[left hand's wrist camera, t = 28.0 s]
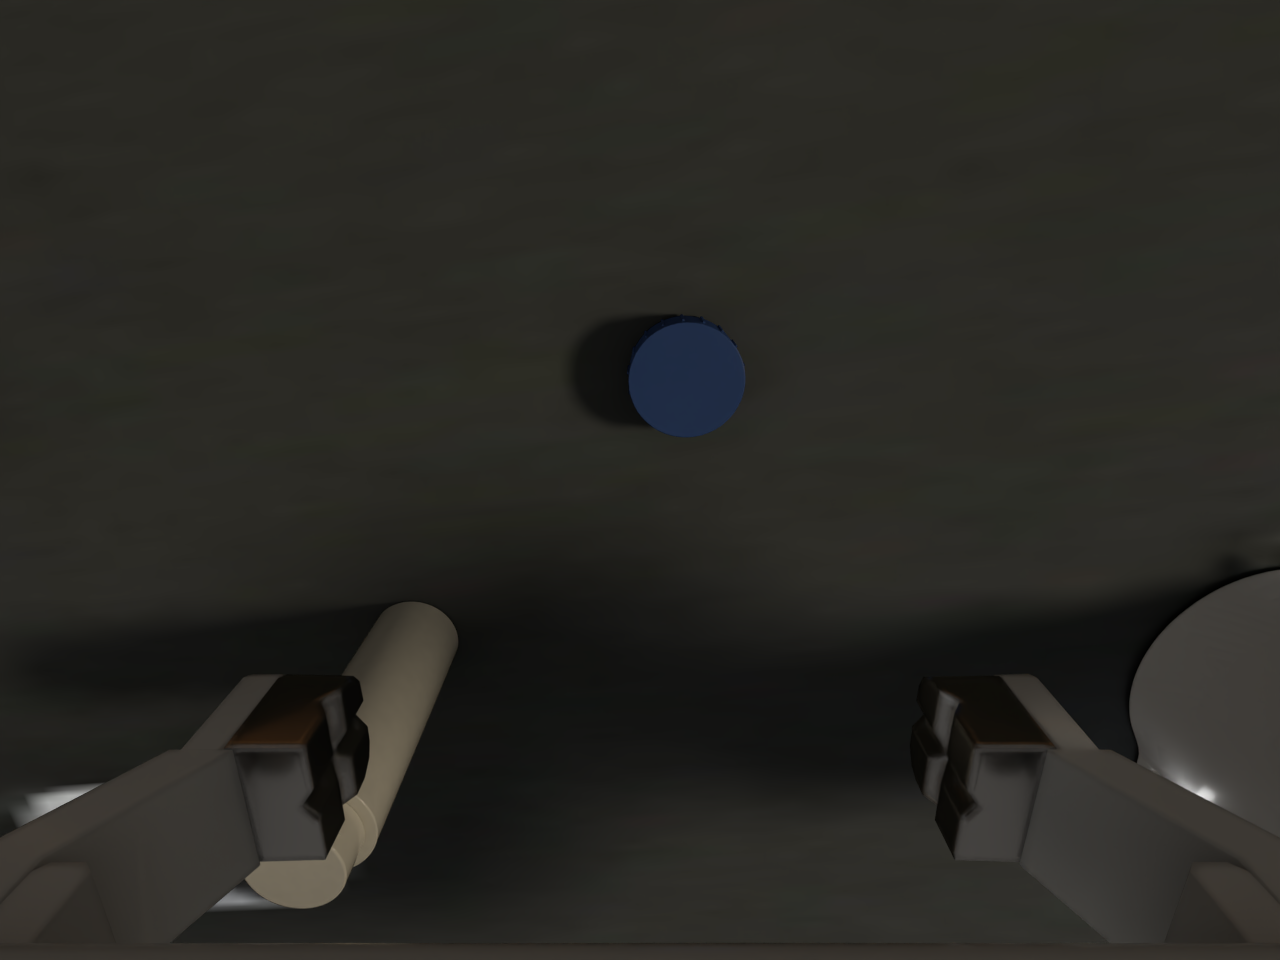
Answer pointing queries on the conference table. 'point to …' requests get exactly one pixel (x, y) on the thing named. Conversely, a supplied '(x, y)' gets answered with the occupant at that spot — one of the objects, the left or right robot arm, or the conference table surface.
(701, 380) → the lid
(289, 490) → the conference table surface
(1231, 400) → the conference table surface
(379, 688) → the jar
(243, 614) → the conference table surface
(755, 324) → the conference table surface
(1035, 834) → the left robot arm
